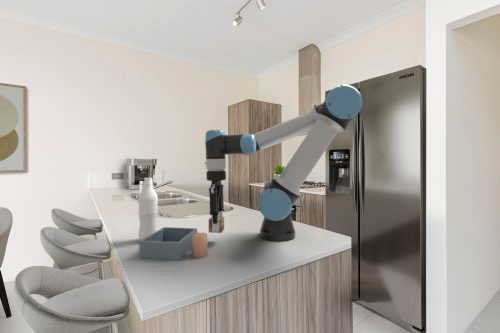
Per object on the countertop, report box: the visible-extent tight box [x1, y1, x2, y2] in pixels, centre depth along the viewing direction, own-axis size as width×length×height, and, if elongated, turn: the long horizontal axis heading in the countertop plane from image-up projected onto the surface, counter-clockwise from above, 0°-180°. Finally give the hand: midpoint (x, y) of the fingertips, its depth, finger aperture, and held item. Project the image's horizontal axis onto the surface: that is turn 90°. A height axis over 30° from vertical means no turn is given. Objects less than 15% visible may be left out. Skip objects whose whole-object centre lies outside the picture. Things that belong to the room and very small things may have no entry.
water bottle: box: [138, 177, 159, 241], centre depth 100 cm, size 7×7×25 cm
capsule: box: [191, 232, 208, 259], centre depth 85 cm, size 5×5×7 cm
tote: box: [138, 226, 198, 261], centre depth 90 cm, size 14×18×6 cm
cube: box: [208, 216, 225, 234], centre depth 99 cm, size 5×5×5 cm
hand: (217, 229), depth 99 cm, fingers closed on cube, 5 cm apart
